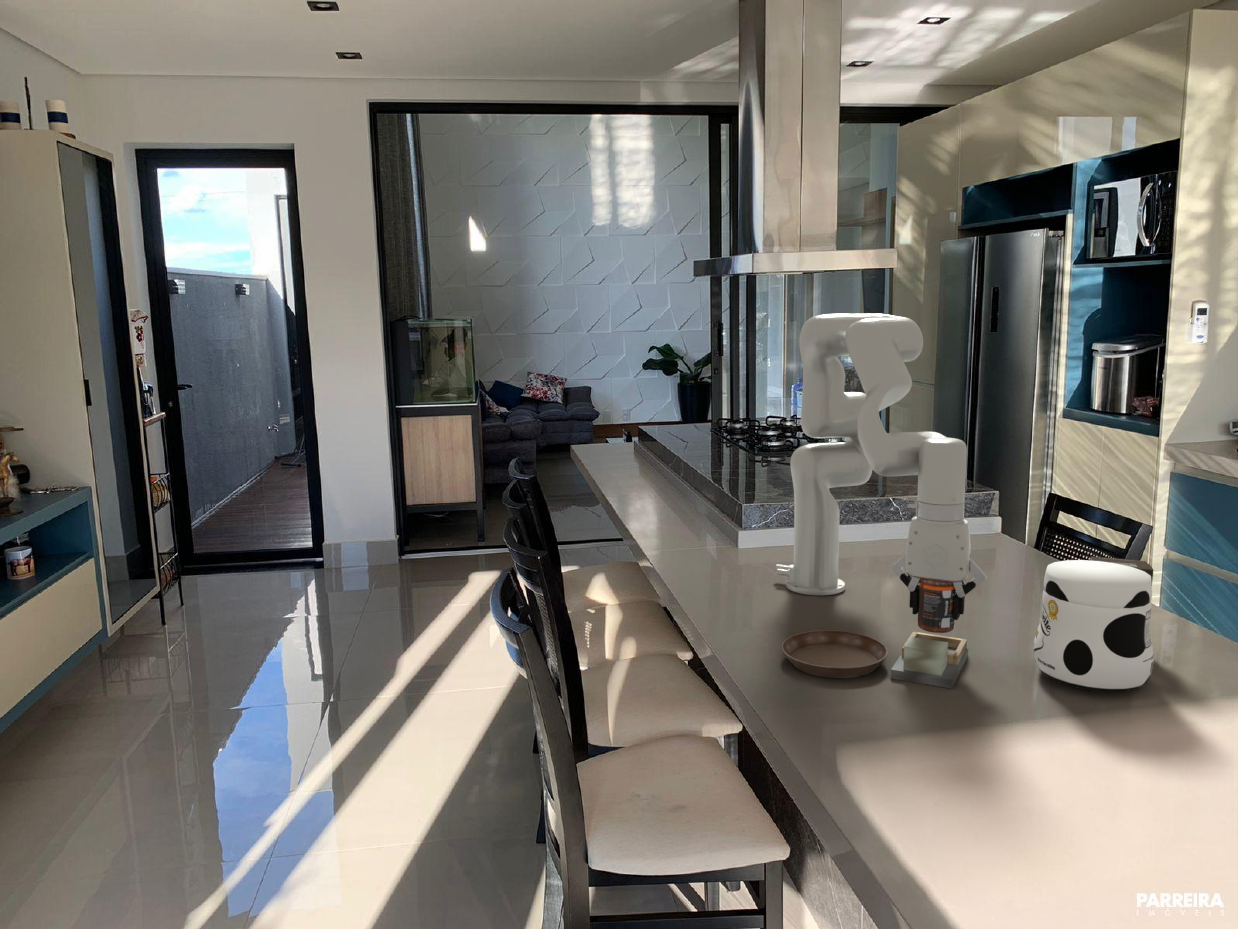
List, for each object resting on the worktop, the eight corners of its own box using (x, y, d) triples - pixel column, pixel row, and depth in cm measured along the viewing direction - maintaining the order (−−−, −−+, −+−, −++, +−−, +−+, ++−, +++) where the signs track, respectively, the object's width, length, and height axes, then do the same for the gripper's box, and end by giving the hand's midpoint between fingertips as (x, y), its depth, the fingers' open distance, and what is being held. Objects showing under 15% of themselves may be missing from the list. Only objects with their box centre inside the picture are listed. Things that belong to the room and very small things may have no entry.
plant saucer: (805, 688, 152) (805, 670, 151) (766, 650, 169) (767, 634, 168) (906, 678, 155) (907, 661, 154) (858, 642, 172) (859, 626, 172)
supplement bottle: (956, 635, 158) (959, 569, 156) (919, 633, 159) (922, 568, 157) (951, 623, 163) (954, 560, 162) (915, 622, 165) (918, 559, 163)
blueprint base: (890, 678, 154) (891, 646, 154) (911, 647, 168) (912, 617, 167) (951, 688, 150) (953, 655, 149) (967, 656, 164) (969, 625, 163)
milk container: (1012, 662, 161) (1018, 560, 158) (1109, 658, 162) (1116, 556, 159) (1068, 704, 144) (1076, 590, 141) (1176, 698, 145) (1186, 585, 142)
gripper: (883, 511, 159) (879, 614, 162) (992, 520, 151) (986, 629, 153) (893, 503, 165) (890, 602, 168) (998, 511, 157) (993, 615, 160)
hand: (936, 614), depth 161 cm, fingers closed on supplement bottle, 6 cm apart
